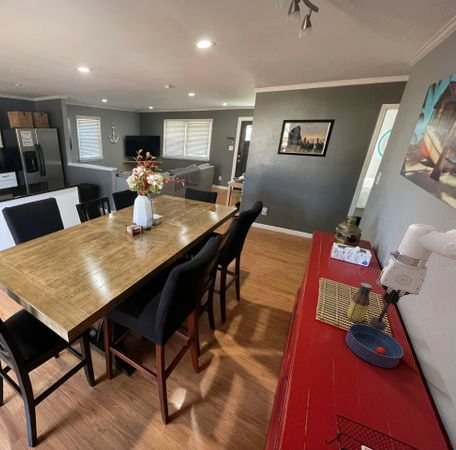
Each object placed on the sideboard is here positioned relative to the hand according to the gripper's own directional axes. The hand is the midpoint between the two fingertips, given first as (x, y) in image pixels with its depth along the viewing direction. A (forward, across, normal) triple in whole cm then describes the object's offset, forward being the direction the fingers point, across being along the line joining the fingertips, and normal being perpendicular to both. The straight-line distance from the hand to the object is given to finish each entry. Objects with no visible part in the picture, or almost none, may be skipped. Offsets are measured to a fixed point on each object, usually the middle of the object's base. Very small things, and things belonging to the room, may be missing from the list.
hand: (388, 301), depth 89 cm
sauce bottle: (+27, -2, +21) cm, 34 cm away
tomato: (+24, +5, +2) cm, 25 cm away
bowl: (+26, +2, +3) cm, 26 cm away
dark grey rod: (+12, 0, 0) cm, 12 cm away
